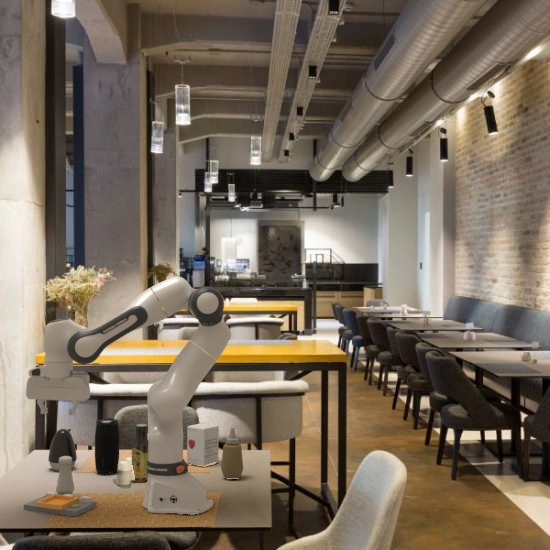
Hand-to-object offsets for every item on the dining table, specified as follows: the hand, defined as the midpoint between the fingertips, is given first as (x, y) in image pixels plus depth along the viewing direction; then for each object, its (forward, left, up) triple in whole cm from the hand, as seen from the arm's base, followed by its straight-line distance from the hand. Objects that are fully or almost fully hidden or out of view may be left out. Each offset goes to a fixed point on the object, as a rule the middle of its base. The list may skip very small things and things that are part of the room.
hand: (58, 414), depth 238 cm
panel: (-1, 0, -29) cm, 29 cm away
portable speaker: (+9, -42, -29) cm, 52 cm away
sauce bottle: (-8, -37, -29) cm, 48 cm away
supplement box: (-18, -67, -29) cm, 75 cm away
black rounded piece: (+27, -40, -29) cm, 56 cm away
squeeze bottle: (-37, -52, -29) cm, 70 cm away
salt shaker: (+5, -11, -29) cm, 32 cm away
